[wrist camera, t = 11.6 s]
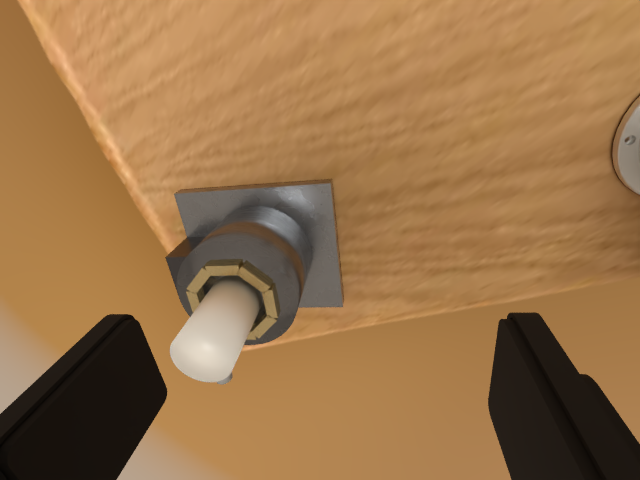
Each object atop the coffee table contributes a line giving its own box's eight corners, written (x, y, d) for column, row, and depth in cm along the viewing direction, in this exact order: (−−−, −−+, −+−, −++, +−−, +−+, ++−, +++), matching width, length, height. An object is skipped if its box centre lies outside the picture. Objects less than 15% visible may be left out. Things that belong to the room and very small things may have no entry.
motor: (331, 179, 38) (316, 221, 28) (343, 299, 45) (335, 369, 35) (180, 189, 41) (115, 231, 31) (213, 301, 48) (169, 366, 38)
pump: (256, 273, 32) (224, 332, 25) (269, 330, 35) (244, 398, 28) (206, 275, 33) (161, 333, 26) (223, 331, 36) (186, 396, 29)
